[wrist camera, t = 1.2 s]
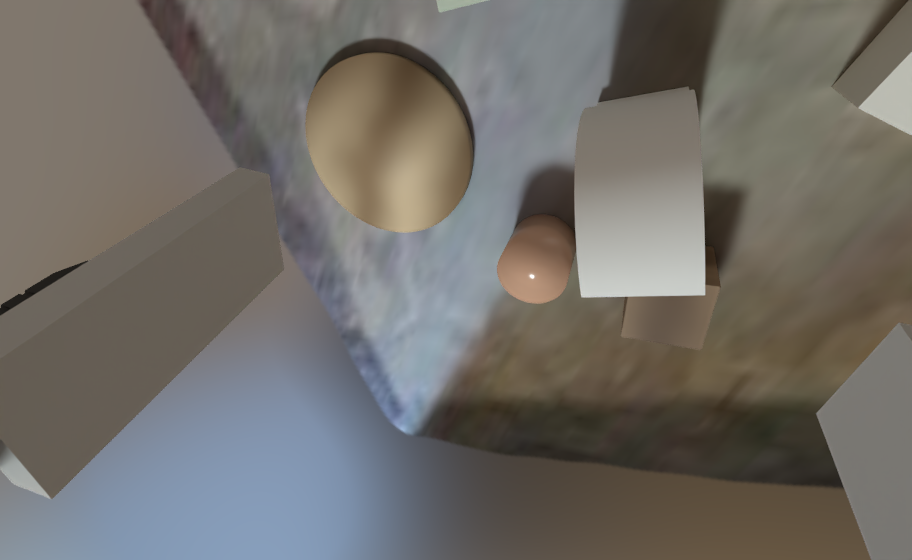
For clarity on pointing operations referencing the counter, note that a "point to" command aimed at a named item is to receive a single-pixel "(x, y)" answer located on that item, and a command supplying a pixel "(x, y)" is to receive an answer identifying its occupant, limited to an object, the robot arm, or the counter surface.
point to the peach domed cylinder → (537, 259)
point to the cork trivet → (389, 141)
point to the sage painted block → (455, 4)
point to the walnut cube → (674, 313)
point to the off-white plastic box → (884, 74)
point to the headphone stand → (640, 197)
